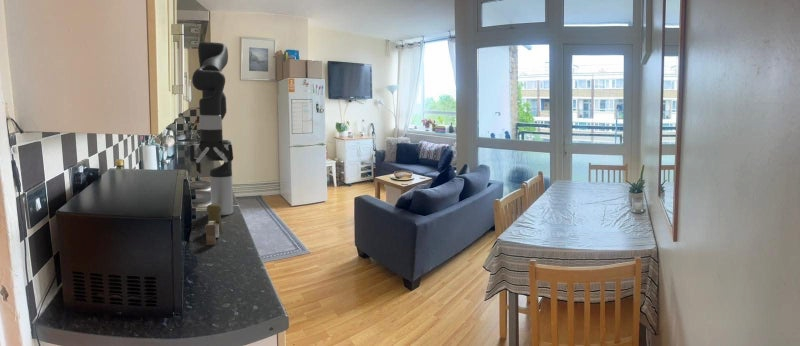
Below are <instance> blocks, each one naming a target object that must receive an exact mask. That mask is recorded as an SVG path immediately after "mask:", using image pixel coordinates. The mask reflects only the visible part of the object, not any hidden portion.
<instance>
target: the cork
mask: <svg viewBox="0 0 800 346" xmlns="http://www.w3.org/2000/svg"><path fill="white" fill-rule="evenodd" d="M206 211H207V213H208V215H207V222H209V221H216V222H218V221H220V234H221V233H223V232H224V228H223V223H222V215H220V211H221V206H220V205H219V204H211V203H210V204H208V205H207V206H206Z"/></svg>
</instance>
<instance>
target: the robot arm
mask: <svg viewBox="0 0 800 346" xmlns="http://www.w3.org/2000/svg"><path fill="white" fill-rule="evenodd" d="M197 47H198V49H197V53H198V54H197V55H198V62H199V67H198V68H196V69H195V71H194V72H193V74H192V76H191V77H192V78H191V81H192V85H193V88H195V89H196V90H197V91H201V92H202V98H200V99H199V102H198V107H199V120H198V123H199V124H198V127H199V144H195V143H191V144H190V149H189V151H190V153H189V156H190V157H189V160H190V161H191V162H194V163H195V164H196V166H195V167H196V172H198V174H202V162H201V160H202V159H203V158H204V157H206V160H207V161H212V162H215V161H218V162H221V161H223V164H221V165H219V166H217V167H214V168H212V169H210V171H209V179H210V181H209V182H210V204H219V205H220V206H221V211H220V216H227V215H232V214H234V194H233V193H234V191H233V190H234V189H233V166H232V165H233V164H232V162H233V160H234V152H233V144H232V142H231V141H230V140H229V139H224V138H223V120H224V118H225V116H226V114H227V97H226V95H225V93H224V88H225V85H226V76H225V74H224V73H223V72H222V71H223V70H224V68H225V67H226V66H227V64H228V62H229V61H228V60H229V50H228V47H227V45H226V44H225V43H223V42H210V41H200V42H199V43H198V46H197ZM198 148H199V150H200V151H201V153H200V154H199V156H198V157H196V156H195V155H196V151H197V150H198Z"/></svg>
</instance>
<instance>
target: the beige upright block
mask: <svg viewBox="0 0 800 346" xmlns="http://www.w3.org/2000/svg"><path fill="white" fill-rule="evenodd" d="M213 223H214V221H209V223H208V224H207V223H206V224H205V242H206V246H216V245H217V244H216V243H217V241H216V236H215V224H213Z"/></svg>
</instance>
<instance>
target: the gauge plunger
mask: <svg viewBox="0 0 800 346" xmlns="http://www.w3.org/2000/svg"><path fill="white" fill-rule="evenodd" d="M208 223H209V222H208V221H206V224H208ZM213 224H215V236H216V238H219V237H220V235H221V233H220V221H218V222H216V221H214V223H213Z"/></svg>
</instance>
